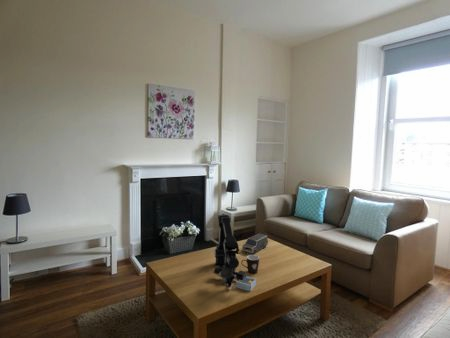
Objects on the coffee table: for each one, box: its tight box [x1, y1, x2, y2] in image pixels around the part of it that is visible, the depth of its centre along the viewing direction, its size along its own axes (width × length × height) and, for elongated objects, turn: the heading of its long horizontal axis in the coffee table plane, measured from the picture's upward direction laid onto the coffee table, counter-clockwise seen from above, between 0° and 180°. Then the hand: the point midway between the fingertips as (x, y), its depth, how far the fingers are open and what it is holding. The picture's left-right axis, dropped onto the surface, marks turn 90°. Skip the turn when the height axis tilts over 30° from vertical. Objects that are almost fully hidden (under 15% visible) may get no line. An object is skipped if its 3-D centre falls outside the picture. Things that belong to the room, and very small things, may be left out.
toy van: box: [241, 233, 269, 255], centre depth 224 cm, size 11×25×10 cm, turn 142°
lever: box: [212, 270, 240, 290], centre depth 168 cm, size 16×13×3 cm
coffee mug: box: [240, 254, 260, 275], centre depth 184 cm, size 12×9×10 cm
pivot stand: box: [221, 278, 228, 285], centre depth 171 cm, size 3×8×5 cm, turn 153°
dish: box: [235, 275, 257, 292], centre depth 166 cm, size 9×9×4 cm
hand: (229, 286), depth 162 cm, fingers closed
